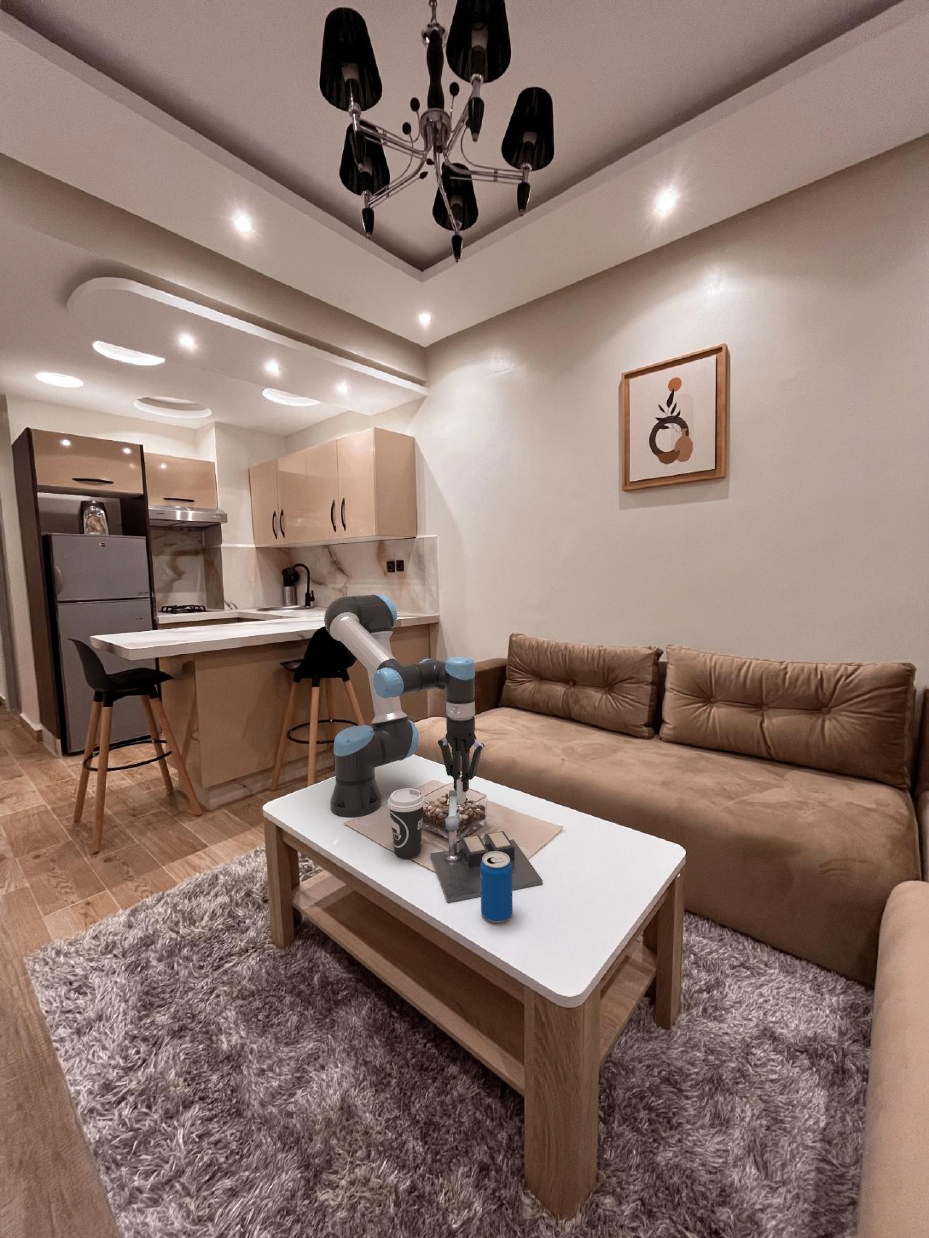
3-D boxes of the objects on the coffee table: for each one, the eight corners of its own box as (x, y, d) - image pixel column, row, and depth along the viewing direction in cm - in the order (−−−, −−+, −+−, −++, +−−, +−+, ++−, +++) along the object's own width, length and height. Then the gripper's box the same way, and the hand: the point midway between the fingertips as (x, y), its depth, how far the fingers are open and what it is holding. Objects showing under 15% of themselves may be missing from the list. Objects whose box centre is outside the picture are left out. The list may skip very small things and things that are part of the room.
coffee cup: (420, 864, 121) (418, 805, 119) (383, 860, 122) (381, 802, 121) (431, 843, 130) (429, 788, 128) (396, 840, 132) (394, 785, 130)
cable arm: (445, 832, 120) (445, 822, 120) (447, 798, 137) (447, 790, 137) (458, 832, 120) (458, 822, 120) (459, 798, 137) (459, 790, 137)
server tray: (430, 857, 124) (429, 825, 123) (513, 843, 129) (513, 812, 129) (447, 903, 106) (446, 866, 106) (542, 884, 112) (542, 849, 111)
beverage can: (479, 905, 106) (478, 851, 105) (509, 902, 106) (509, 849, 105) (483, 926, 99) (482, 869, 98) (515, 924, 100) (514, 867, 99)
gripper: (431, 717, 130) (433, 803, 133) (477, 723, 125) (478, 813, 128) (444, 709, 137) (446, 791, 140) (488, 715, 132) (489, 800, 134)
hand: (461, 802), depth 134 cm, fingers closed
